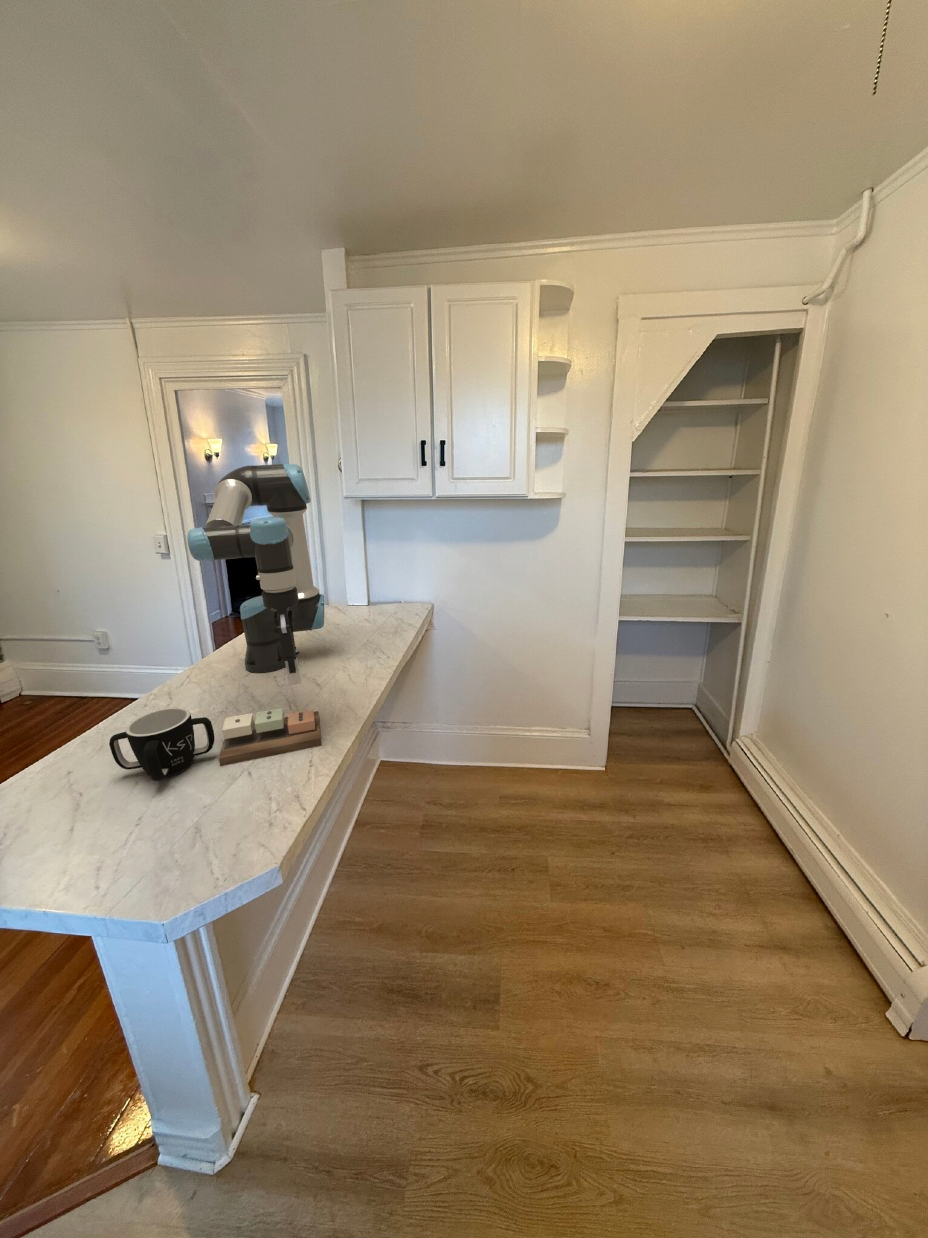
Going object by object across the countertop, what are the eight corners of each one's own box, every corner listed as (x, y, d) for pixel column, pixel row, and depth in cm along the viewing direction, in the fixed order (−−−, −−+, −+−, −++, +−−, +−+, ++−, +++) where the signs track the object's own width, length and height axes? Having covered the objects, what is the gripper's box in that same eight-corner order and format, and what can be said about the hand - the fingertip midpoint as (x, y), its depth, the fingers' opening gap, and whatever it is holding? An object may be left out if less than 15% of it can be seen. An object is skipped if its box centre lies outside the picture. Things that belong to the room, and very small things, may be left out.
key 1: (227, 726, 114) (225, 716, 114) (254, 721, 116) (252, 712, 115) (224, 739, 109) (221, 729, 108) (251, 734, 111) (249, 724, 110)
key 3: (289, 722, 119) (288, 712, 118) (314, 717, 121) (313, 708, 120) (289, 734, 114) (287, 724, 113) (315, 729, 115) (313, 719, 114)
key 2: (258, 720, 116) (256, 711, 116) (284, 716, 118) (282, 706, 117) (256, 733, 111) (254, 723, 110) (283, 728, 113) (281, 718, 112)
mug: (151, 800, 96) (136, 749, 92) (114, 776, 104) (99, 728, 101) (225, 758, 109) (215, 712, 106) (187, 740, 117) (176, 696, 114)
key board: (228, 734, 119) (227, 727, 118) (319, 717, 125) (318, 710, 125) (220, 766, 106) (218, 758, 106) (321, 745, 113) (320, 737, 112)
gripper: (263, 583, 111) (279, 675, 118) (258, 597, 99) (277, 698, 107) (296, 580, 113) (310, 670, 121) (296, 593, 101) (311, 692, 109)
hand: (295, 683), depth 114 cm, fingers closed
